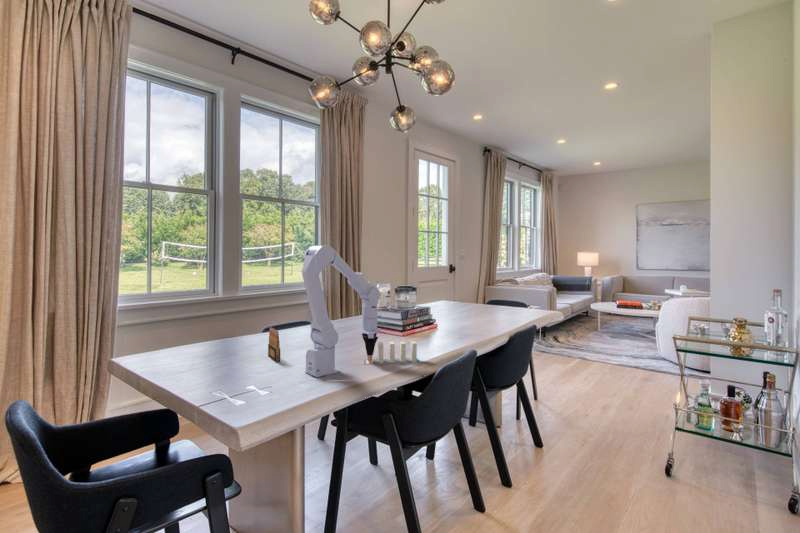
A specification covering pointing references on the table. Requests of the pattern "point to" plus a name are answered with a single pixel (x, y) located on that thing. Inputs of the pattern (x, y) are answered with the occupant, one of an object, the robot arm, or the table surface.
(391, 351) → the domino
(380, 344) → the domino
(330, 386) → the table surface
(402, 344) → the domino
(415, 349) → the domino
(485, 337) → the table surface
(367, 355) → the domino placed
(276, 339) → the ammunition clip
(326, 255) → the robot arm
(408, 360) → the mat
